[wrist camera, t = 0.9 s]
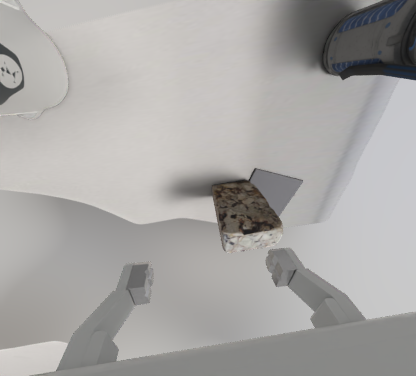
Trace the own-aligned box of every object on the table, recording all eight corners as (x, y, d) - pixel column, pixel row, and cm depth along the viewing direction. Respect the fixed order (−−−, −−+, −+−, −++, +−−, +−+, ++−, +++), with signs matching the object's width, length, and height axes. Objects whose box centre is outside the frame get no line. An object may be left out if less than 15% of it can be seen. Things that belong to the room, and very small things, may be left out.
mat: (232, 214, 56) (232, 215, 56) (255, 168, 48) (256, 169, 47) (274, 220, 61) (275, 221, 61) (302, 180, 53) (303, 181, 52)
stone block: (212, 201, 52) (224, 257, 35) (209, 183, 48) (220, 236, 31) (253, 193, 52) (285, 245, 35) (253, 174, 48) (288, 222, 31)
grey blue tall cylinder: (302, 66, 35) (479, 40, 15) (356, -6, 30) (741, -199, 10) (325, 95, 40) (489, 109, 19) (376, 36, 35) (675, -34, 14)
